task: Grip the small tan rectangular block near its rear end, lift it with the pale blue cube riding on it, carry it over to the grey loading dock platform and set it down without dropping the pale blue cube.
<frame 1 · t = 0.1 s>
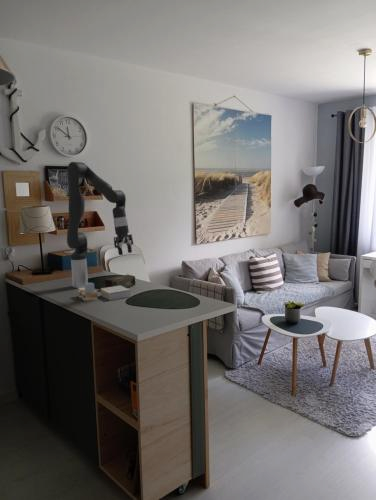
hand: (125, 253, 231), 22 cm above the worktop, tool pointing down, fingers open, 8 cm apart
pale blue cube: (89, 290, 220), point 5 cm above the worktop, touching tan rectangular block
dock: (115, 296, 226), on the worktop
tan rectangular block: (87, 298, 223), on the worktop, touching pale blue cube
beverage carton: (120, 287, 248), on the worktop
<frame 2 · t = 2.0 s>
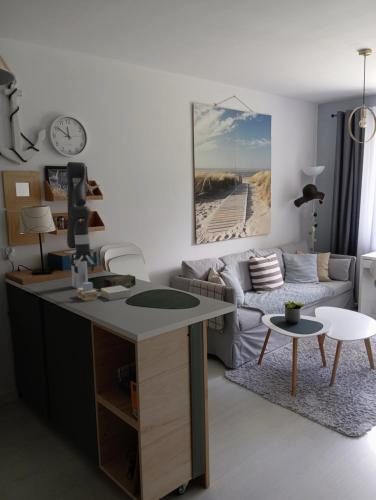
hand: (84, 272, 224), 14 cm above the worktop, tool pointing down, fingers open, 8 cm apart
pale blue cube: (88, 290, 221), point 5 cm above the worktop, touching tan rectangular block
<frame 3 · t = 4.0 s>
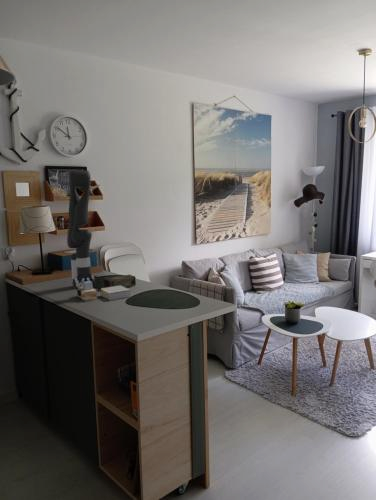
hand: (85, 295, 226), 1 cm above the worktop, tool pointing down, fingers closed on tan rectangular block, 6 cm apart
pale blue cube: (87, 289, 222), point 5 cm above the worktop, touching tan rectangular block
tan rectangular block: (87, 297, 224), on the worktop, touching pale blue cube, gripper
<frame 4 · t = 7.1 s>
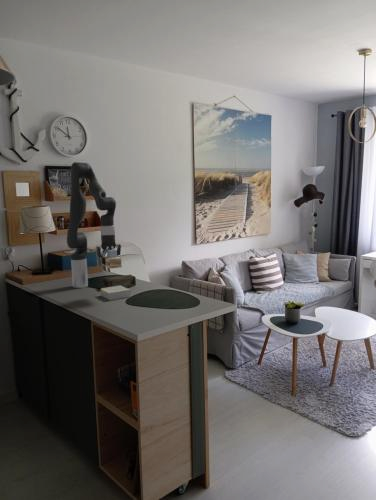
hand: (109, 263, 226), 18 cm above the worktop, tool pointing down, fingers closed on tan rectangular block, 6 cm apart
pale blue cube: (112, 257, 222), point 22 cm above the worktop, touching tan rectangular block
tan rectangular block: (111, 266, 224), point 17 cm above the worktop, touching pale blue cube, gripper
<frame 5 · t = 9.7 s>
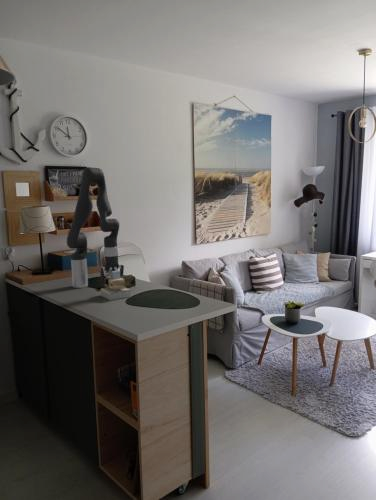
hand: (112, 284, 228), 6 cm above the worktop, tool pointing down, fingers closed on tan rectangular block, 6 cm apart
pale blue cube: (115, 278, 224), point 10 cm above the worktop, touching tan rectangular block
tan rectangular block: (114, 286, 226), point 5 cm above the worktop, touching pale blue cube, gripper
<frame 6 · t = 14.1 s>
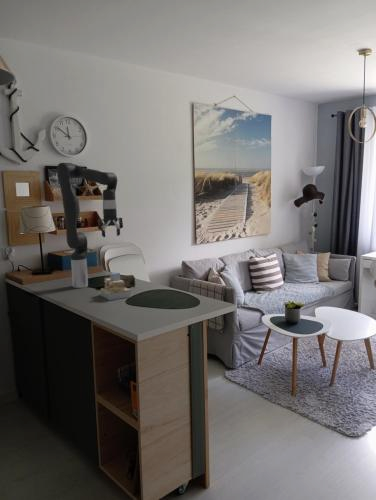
hand: (111, 236, 233), 32 cm above the worktop, tool pointing down, fingers open, 8 cm apart
pale blue cube: (115, 280, 224), point 9 cm above the worktop, touching tan rectangular block
tan rectangular block: (114, 288, 226), point 4 cm above the worktop, touching pale blue cube, dock
at the end: tan rectangular block inside the target area on the dock (1.1 cm from its centre), point 4.0 cm above the dock's base; pale blue cube inside the target area on the tan rectangular block (1.2 cm from its centre), point 5.0 cm above the tan rectangular block's base; the gripper is holding nothing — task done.
